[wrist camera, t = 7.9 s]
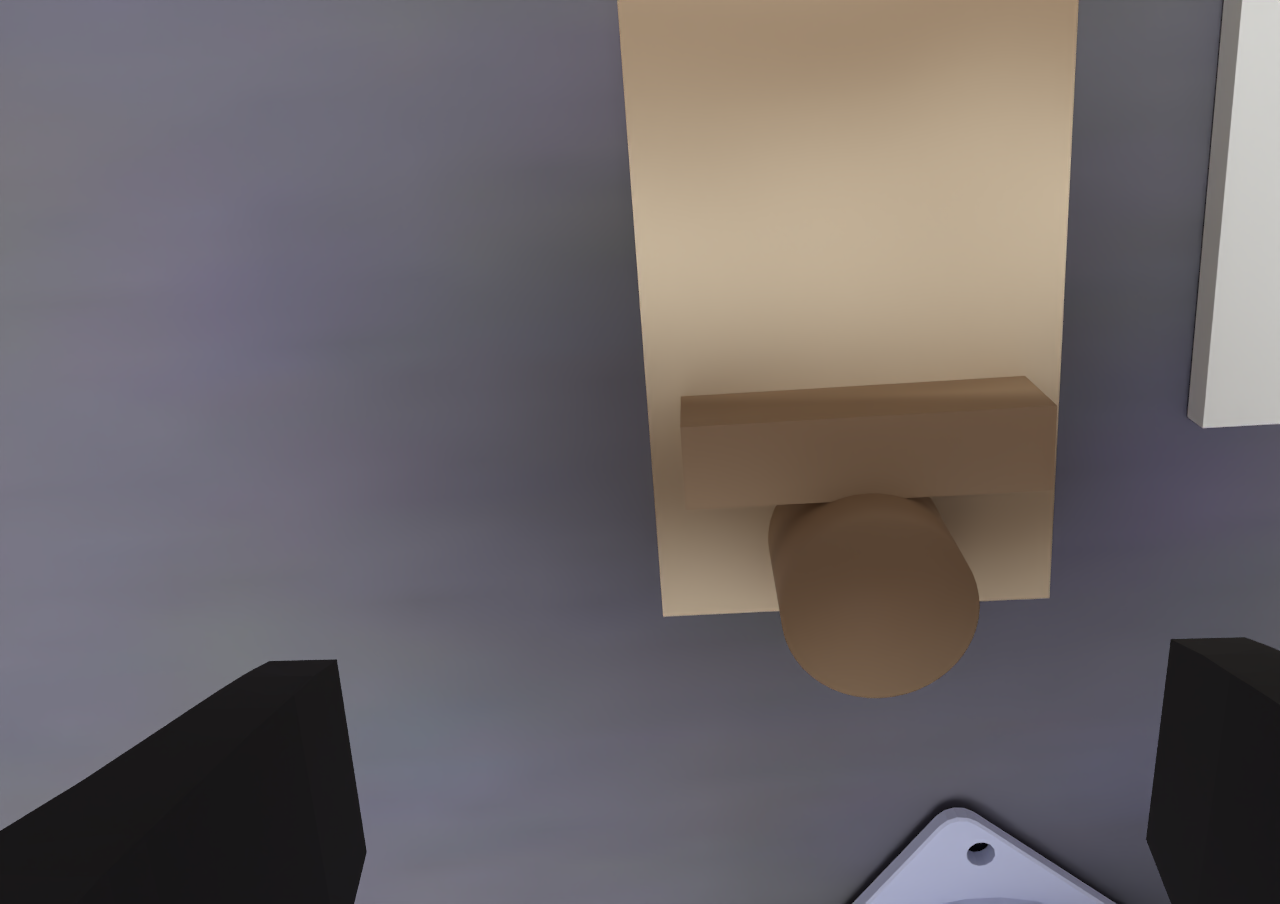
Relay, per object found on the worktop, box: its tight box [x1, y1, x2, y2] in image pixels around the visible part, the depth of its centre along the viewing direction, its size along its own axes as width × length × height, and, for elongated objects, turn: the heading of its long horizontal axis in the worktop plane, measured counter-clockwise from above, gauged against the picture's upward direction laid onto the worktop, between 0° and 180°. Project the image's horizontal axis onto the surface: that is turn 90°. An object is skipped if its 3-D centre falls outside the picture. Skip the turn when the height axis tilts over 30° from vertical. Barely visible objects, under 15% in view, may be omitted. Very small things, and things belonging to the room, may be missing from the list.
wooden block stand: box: [617, 0, 1079, 698], centre depth 14 cm, size 16×6×6 cm, turn 4°
